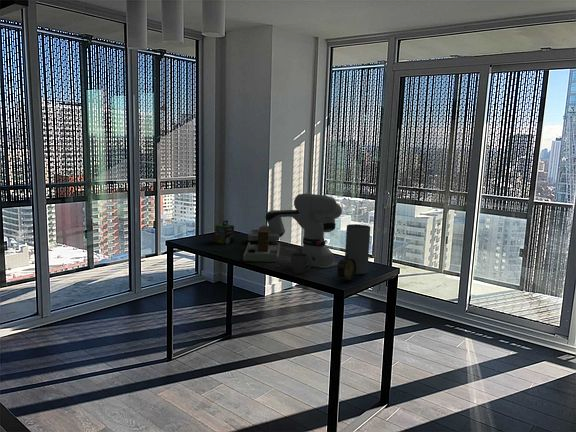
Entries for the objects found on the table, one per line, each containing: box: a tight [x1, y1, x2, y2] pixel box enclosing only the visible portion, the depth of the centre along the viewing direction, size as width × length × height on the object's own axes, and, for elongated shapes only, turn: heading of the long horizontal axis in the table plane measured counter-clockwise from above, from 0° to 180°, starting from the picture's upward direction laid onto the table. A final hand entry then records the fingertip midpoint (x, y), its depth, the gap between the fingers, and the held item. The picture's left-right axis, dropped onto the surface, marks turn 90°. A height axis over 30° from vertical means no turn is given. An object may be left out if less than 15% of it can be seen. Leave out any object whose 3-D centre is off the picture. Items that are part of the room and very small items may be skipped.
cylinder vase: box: [344, 223, 371, 275], centre depth 261 cm, size 12×12×25 cm
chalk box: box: [214, 219, 235, 245], centre depth 320 cm, size 9×9×15 cm
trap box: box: [242, 241, 281, 263], centre depth 294 cm, size 36×20×4 cm, turn 0°
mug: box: [290, 252, 312, 275], centre depth 256 cm, size 12×9×10 cm
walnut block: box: [257, 226, 270, 252], centre depth 300 cm, size 14×6×12 cm, turn 1°
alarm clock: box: [336, 250, 356, 284], centre depth 243 cm, size 11×5×16 cm, turn 138°
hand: (263, 239), depth 307 cm, fingers closed, pressing on walnut block
